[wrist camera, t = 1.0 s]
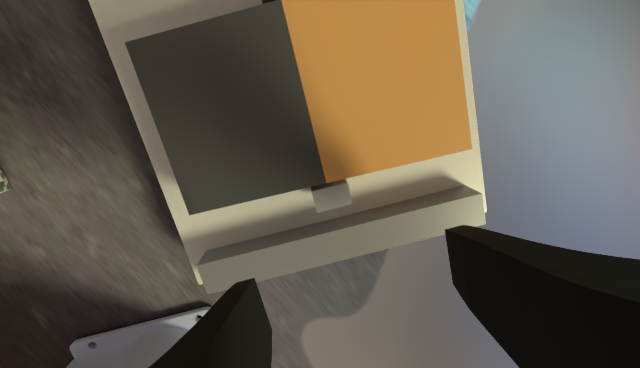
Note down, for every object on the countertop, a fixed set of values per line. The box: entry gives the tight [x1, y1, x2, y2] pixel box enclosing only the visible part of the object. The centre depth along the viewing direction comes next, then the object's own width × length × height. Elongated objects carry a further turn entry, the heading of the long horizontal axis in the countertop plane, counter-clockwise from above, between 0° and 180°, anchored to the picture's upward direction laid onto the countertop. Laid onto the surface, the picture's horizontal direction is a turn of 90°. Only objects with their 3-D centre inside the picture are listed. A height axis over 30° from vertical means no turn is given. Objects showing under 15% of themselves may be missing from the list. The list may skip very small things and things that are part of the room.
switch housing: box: [88, 0, 487, 294], centre depth 15 cm, size 16×16×6 cm
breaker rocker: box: [125, 0, 472, 215], centre depth 13 cm, size 12×7×1 cm, turn 104°
